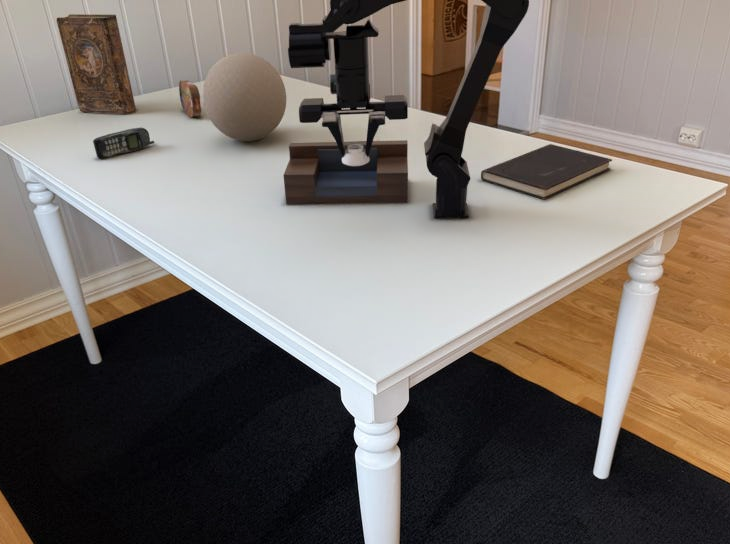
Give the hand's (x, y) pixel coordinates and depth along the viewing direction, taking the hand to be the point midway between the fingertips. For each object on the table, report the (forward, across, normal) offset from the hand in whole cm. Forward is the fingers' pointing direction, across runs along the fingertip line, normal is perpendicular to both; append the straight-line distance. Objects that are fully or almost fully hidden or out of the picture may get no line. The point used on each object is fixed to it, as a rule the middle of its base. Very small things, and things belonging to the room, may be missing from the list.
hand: (355, 157), depth 124 cm
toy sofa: (+11, +2, -11) cm, 16 cm away
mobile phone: (+10, +58, -41) cm, 72 cm away
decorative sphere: (+11, +29, -48) cm, 57 cm away
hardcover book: (+11, -39, -18) cm, 44 cm away
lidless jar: (+1, 0, 0) cm, 1 cm away
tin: (+10, +50, -74) cm, 89 cm away
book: (+10, +75, -79) cm, 110 cm away
